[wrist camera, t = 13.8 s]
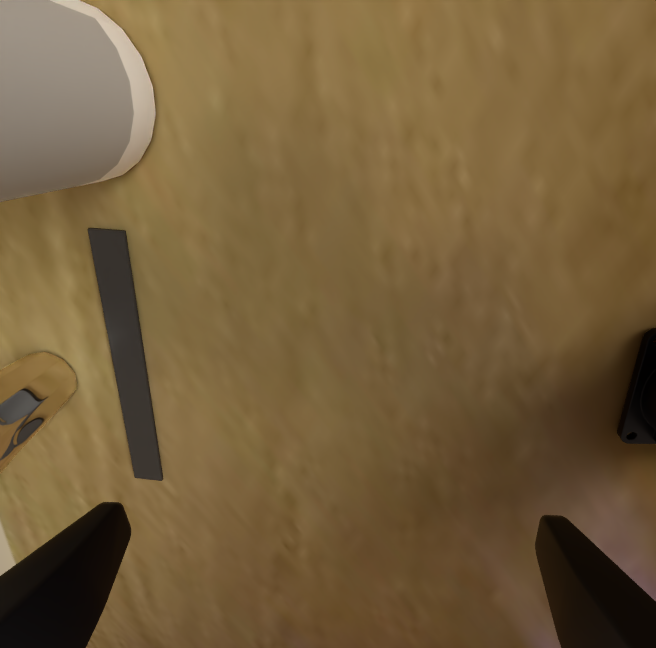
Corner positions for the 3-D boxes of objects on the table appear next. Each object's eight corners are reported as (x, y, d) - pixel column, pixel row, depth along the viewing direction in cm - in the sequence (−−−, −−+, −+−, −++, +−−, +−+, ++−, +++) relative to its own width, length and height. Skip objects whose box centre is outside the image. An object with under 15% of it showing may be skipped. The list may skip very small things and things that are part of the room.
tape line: (163, 478, 27) (161, 481, 27) (136, 475, 27) (134, 478, 27) (125, 230, 20) (123, 231, 20) (89, 227, 20) (87, 228, 20)
